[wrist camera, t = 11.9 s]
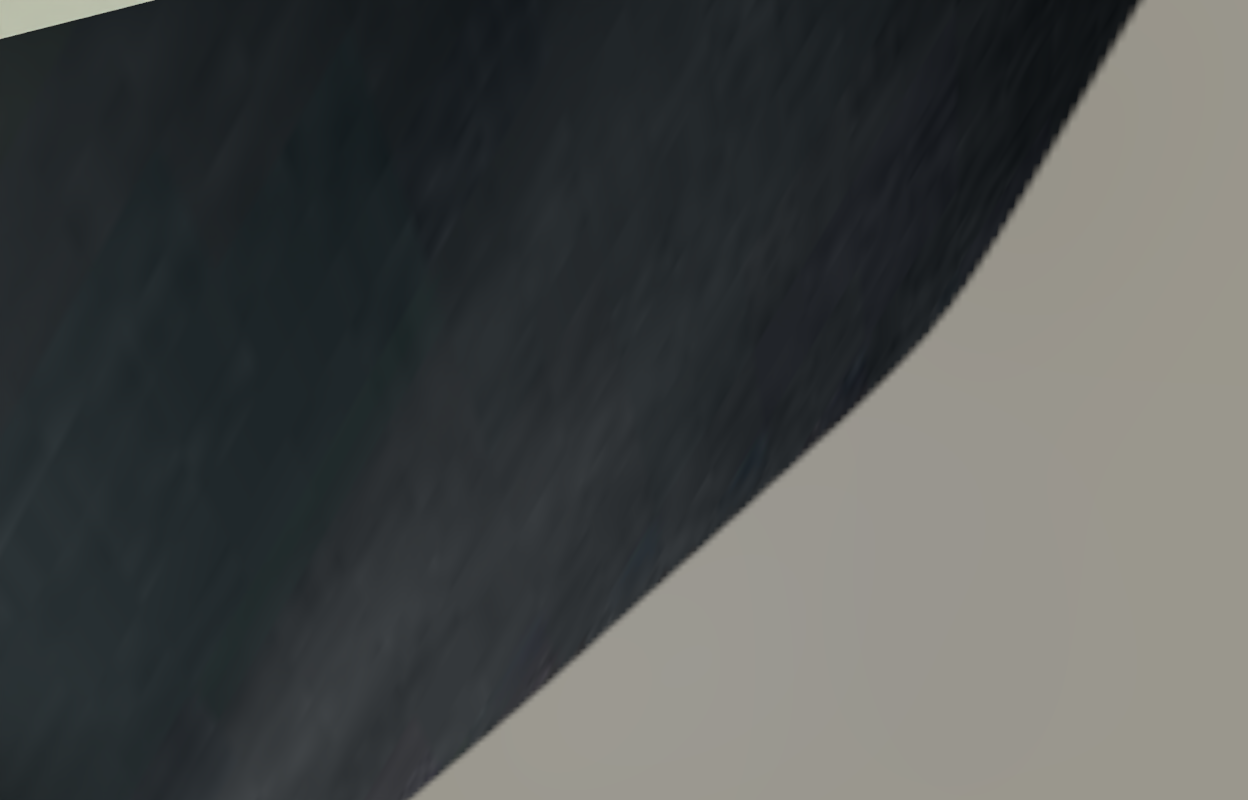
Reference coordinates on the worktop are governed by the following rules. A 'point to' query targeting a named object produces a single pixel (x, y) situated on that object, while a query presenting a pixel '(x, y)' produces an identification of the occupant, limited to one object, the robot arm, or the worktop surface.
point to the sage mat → (51, 12)
